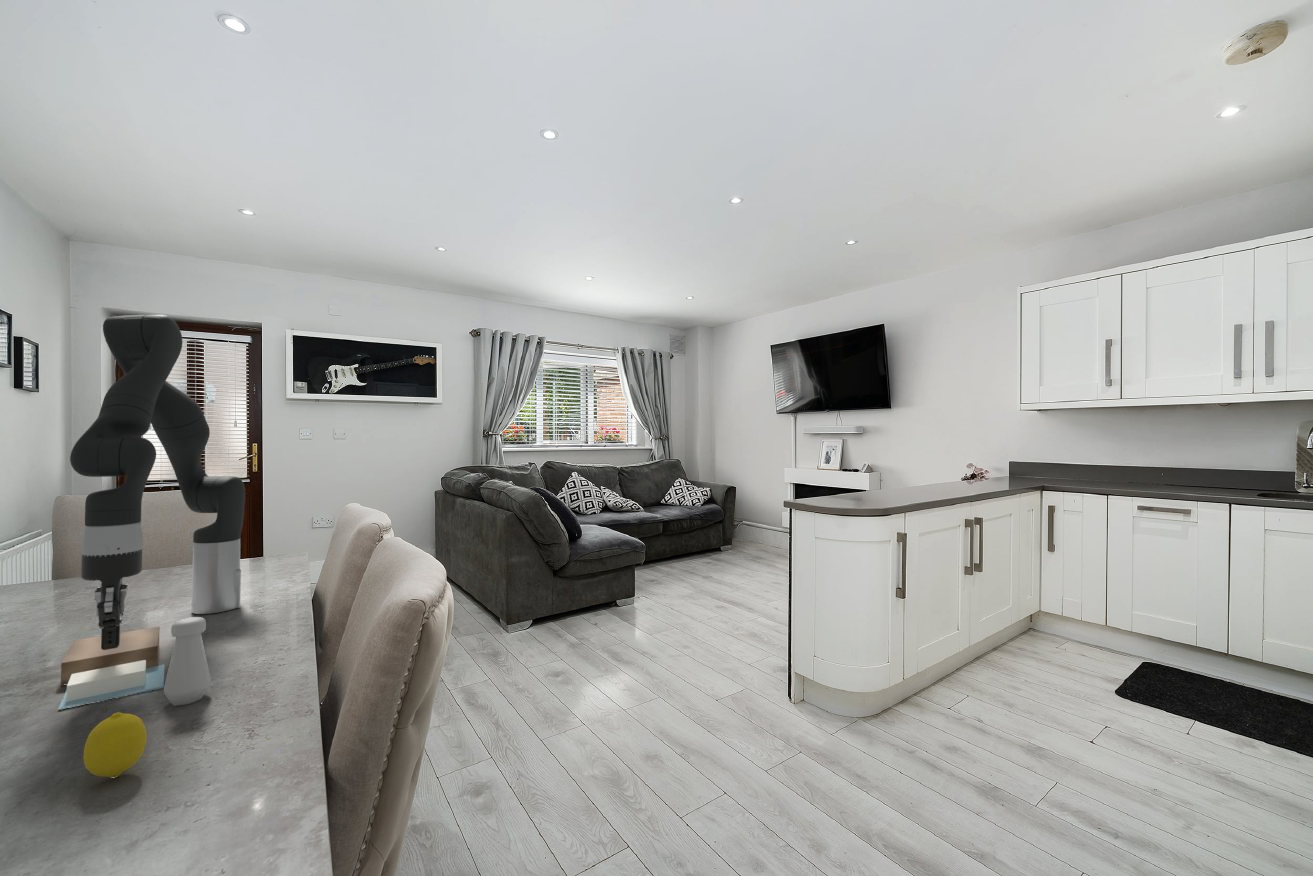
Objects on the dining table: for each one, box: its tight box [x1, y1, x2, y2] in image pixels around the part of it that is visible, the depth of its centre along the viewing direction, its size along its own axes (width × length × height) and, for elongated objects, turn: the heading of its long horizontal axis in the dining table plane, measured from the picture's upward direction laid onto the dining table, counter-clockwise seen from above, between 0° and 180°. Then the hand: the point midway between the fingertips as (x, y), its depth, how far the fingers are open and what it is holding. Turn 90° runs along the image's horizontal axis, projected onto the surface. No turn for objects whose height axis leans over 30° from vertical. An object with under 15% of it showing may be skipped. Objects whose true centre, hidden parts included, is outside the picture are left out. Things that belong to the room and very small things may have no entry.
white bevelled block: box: [66, 660, 146, 702], centre depth 90 cm, size 9×6×2 cm, turn 133°
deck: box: [60, 626, 161, 686], centre depth 100 cm, size 12×14×4 cm
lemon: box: [83, 711, 148, 778], centre depth 66 cm, size 6×6×8 cm
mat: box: [57, 664, 166, 711], centre depth 91 cm, size 12×12×1 cm
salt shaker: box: [163, 616, 212, 707], centre depth 87 cm, size 6×6×13 cm
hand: (110, 647), depth 94 cm, fingers closed
